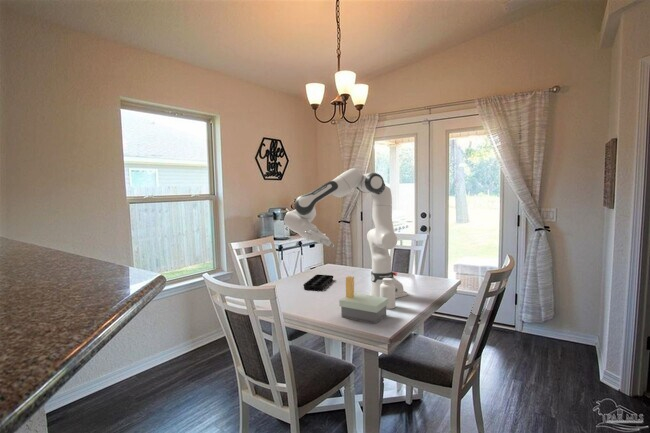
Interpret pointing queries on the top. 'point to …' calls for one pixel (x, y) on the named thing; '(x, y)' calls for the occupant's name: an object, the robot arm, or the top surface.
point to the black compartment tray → (318, 282)
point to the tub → (363, 314)
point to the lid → (361, 299)
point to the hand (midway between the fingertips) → (331, 245)
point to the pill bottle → (388, 292)
